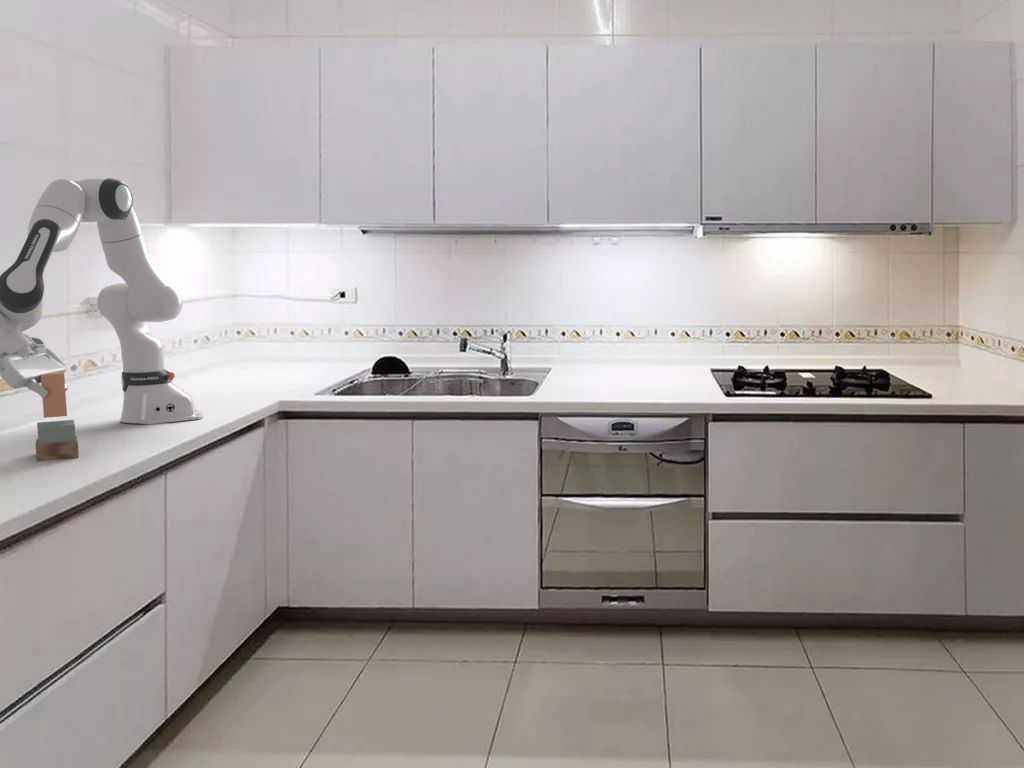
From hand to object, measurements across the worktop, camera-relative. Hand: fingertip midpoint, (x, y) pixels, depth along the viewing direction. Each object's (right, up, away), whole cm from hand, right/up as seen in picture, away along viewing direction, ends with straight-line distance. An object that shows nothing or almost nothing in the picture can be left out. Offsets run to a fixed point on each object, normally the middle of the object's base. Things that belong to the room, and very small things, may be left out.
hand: (56, 392), depth 248 cm
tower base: (0, -15, +1) cm, 15 cm away
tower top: (0, -11, +1) cm, 11 cm away
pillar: (-1, -5, +1) cm, 5 cm away
